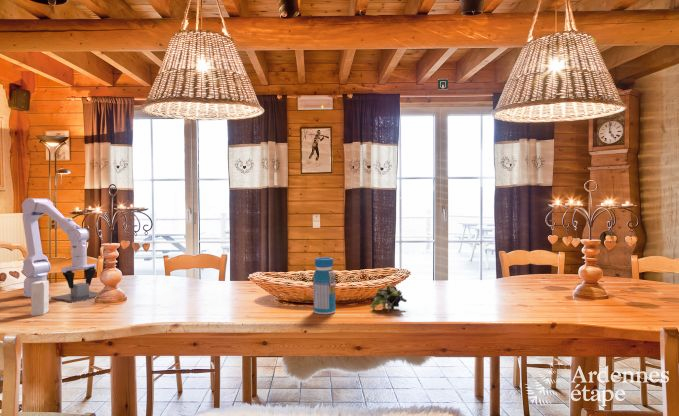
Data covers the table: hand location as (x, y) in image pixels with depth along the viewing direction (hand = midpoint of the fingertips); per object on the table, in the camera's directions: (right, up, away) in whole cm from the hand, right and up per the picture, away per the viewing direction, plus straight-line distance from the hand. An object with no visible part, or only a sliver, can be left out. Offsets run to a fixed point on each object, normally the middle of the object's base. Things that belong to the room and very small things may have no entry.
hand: (79, 286), depth 201 cm
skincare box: (+2, -5, -30) cm, 31 cm away
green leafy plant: (+133, -4, -31) cm, 137 cm away
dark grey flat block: (0, -5, 0) cm, 5 cm away
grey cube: (0, -4, 0) cm, 4 cm away
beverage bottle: (+109, -4, -32) cm, 114 cm away
